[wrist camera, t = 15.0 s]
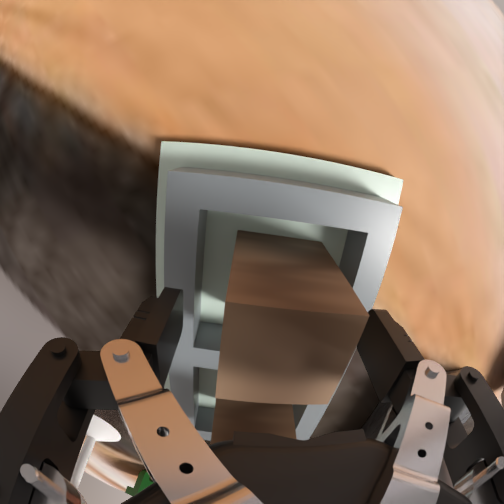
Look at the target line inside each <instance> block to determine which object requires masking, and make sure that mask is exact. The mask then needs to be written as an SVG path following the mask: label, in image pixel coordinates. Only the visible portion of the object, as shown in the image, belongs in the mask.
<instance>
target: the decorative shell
mask: <svg viewBox="0 0 504 504" xmlns="http://www.w3.org/2000/svg"><path fill="white" fill-rule="evenodd" d="M501 400H502V406H503V409H504V388H503V391H502V393H501Z"/></svg>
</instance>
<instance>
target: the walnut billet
mask: <svg viewBox="0 0 504 504" xmlns="http://www.w3.org/2000/svg"><path fill="white" fill-rule="evenodd" d="M368 318H369V314H368V312H367V311H366V309H365V308H364V306H363V304H362V303H361V301H360V299H359V298H358V296H357V295H356V293H355V292H354V290H353V288H352V287H351V285H350V284H349V282H348V281H347V279H346V278H345V276H344V275H343V273H342V272H341V270H340V268H339V267H338V265H337V264H336V262H335V261H334V259H333V258H332V257H331V255H330V254H329V252H328V251H327V249H326V248H325V246H324V245H323V243H322V242H319V241H312V240H305V239H299V238H292V237H285V236H278V235H271V234H264V233H257V232H250V231H243V230H238V231H237V236H236V242H235V248H234V253H233V259H232V265H231V270H230V276H229V282H228V288H227V294H226V300H225V308H224V317H223V326H222V335H221V344H220V354H219V363H218V373H217V383H216V394H215V398H219V399H227V400H235V401H245V402H257V403H273V404H301V405H322V404H328V403H329V401H330V399H331V397H332V395H333V393H334V392H335V390H336V388H337V386H338V384H339V382H340V380H341V378H342V376H343V374H344V372H345V370H346V368H347V366H348V364H349V362H350V360H351V357H352V355H353V353H354V351H355V349H356V346H357V344H358V342H359V340H360V337H361V335H362V333H363V330H364V328H365V326H366V323H367V321H368Z"/></svg>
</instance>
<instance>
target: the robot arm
mask: <svg viewBox="0 0 504 504" xmlns="http://www.w3.org/2000/svg"><path fill="white" fill-rule="evenodd" d="M368 314H369V318H368V321H367V323H366V326H365V328H364V330H363V333H362V335H361V337H360V340H359V342H358V344H357V349H358V352H359V354H360V356H361V359H362V361H363V363H364V365H365V368H366V370H367V372H368V375H369V377H370V379H371V382H372V384H373V386H374V389H375V391H376V394H377V396H378V398H379V401H380V403H385V402H392V405H391V407H390V408H389V410H388V412H387V415H386V417H385V420H384V422H383V425H382V427H381V429H380V432H379V434H378V436H377V438H376V440H375V439H371V438H366V436H365V433H364V430H363V429H360V430H351V431H340V432H333V433H330V434H327V435H323V436H320V437H316V438H312V439H309V440H298V439H293V438H288V437H283V436H278V435H274V434H270V433H254V432H240V431H234V434H233V440H226V441H221V442H217V443H214V444H211V445H207V444H206V442H205V441H204V440H203V438H202V437H201V436H200V434H199V433H198V431H197V430H196V429H195V427H194V426H193V424H192V423H191V422H190V420H189V419H188V417H187V416H186V414H185V413H184V411H183V410H182V408H181V407H180V405H179V404H178V402H177V400H176V399H175V397H174V396H173V394H172V393H171V391H170V390H169V389H167V388H166V389H163V388H164V385H165V382H166V379H167V376H168V373H169V370H170V367H171V363H172V360H173V357H174V354H175V351H176V348H177V345H178V343H179V340H180V337H181V333H182V328H183V290H182V289H176V288H170V287H164V289H163V291H162V292H161V294H160V296H159V298H157V297H150V298H148V299H147V300H145V301H144V302H142V304H141V305H140V307H139V308H138V311H137V312H136V313H135V315H134V318H132V320H131V321H130V323H129V325H128V326H127V328H126V329H125V331H124V333H123V334H122V336H121V338H120V339H117V340H113V341H110V342H108V343H107V344H105V345H104V346H103V348H102V349H101V351H79V350H78V347H77V345H76V343H75V342H74V341H73V340H71V339H68V338H62V337H61V338H55V339H52V340H50V341H48V342H47V343H46V344H45V345H44V346H43V347H42V349H41V350H40V352H39V353H38V355H37V356H36V357H35V359H34V360H33V362H32V363H31V364H30V366H29V367H28V369H27V370H26V372H25V373H24V375H23V376H22V378H21V380H20V381H19V383H18V384H17V386H16V387H15V389H14V391H13V392H12V394H11V395H10V397H9V399H8V400H7V402H6V404H5V406H4V407H3V409H2V411H1V412H0V504H81V497H80V494H79V492H78V490H77V489H76V487H75V486H74V485H73V484H72V483H70V481H71V478H72V474H73V471H74V468H75V465H76V462H77V459H78V456H79V453H80V450H81V447H82V444H83V441H84V438H85V435H86V433H87V430H88V427H89V425H90V422H91V419H92V417H93V414H94V411H95V409H102V410H118V411H119V414H120V416H121V419H122V421H123V423H124V425H125V428H126V430H127V432H128V434H129V436H130V438H131V441H132V443H133V445H134V447H135V449H136V451H137V453H138V455H139V457H140V459H141V461H142V463H143V465H144V466H145V468H146V470H147V472H148V474H149V475H150V477H151V479H152V480H153V482H154V483H153V484H151V485H150V486H148V487H147V488H145V489H144V490H142V491H140V492H139V493H137V494H136V495H134V496H133V497H131V498H130V499H128V500H126V501H125V502H123V503H121V504H504V409H503V407H502V406H501V404H500V402H499V401H498V399H497V397H496V396H495V394H494V393H493V391H492V390H491V388H490V386H489V385H488V383H487V382H486V380H485V379H484V377H483V376H482V374H481V373H480V372H479V371H478V370H476V369H474V368H472V367H468V366H466V367H463V368H462V369H461V370H460V372H459V373H458V375H457V376H455V375H448V374H446V372H445V370H444V368H443V367H442V366H441V365H440V364H438V363H437V362H435V361H432V360H425V359H424V358H423V356H422V355H421V353H420V352H419V350H418V349H417V347H416V346H415V344H414V343H413V342H412V340H411V339H410V337H409V336H408V334H407V333H406V331H405V330H404V329H403V327H402V326H400V325H399V324H398V323H397V322H395V321H394V320H393V318H392V317H391V315H390V314H389V313H388V311H387V310H379V309H371V310H369V311H368ZM466 407H467V408H468V410H469V412H470V414H471V416H472V418H473V420H474V428H473V431H472V432H471V433H470V434H469V435H467V433H466V431H465V429H464V427H463V425H462V422H461V420H460V418H459V416H460V415H461V413H462V412H463V411H464V410H465V409H466Z"/></svg>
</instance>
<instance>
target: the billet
mask: <svg viewBox="0 0 504 504" xmlns="http://www.w3.org/2000/svg"><path fill="white" fill-rule="evenodd" d="M234 431H240V432H254V433H270V434H274V435H278V436H283V437H288V438H293V439H297V438H296V430H295V422H294V414H293V406H292V404H273V403H257V402H245V401H235V400H227V399H219V398H216V403H215V411H214V419H213V427H212V435H211V444H214V443H217V442H221V441H226V440H233V434H234ZM211 444H210V445H211Z"/></svg>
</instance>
